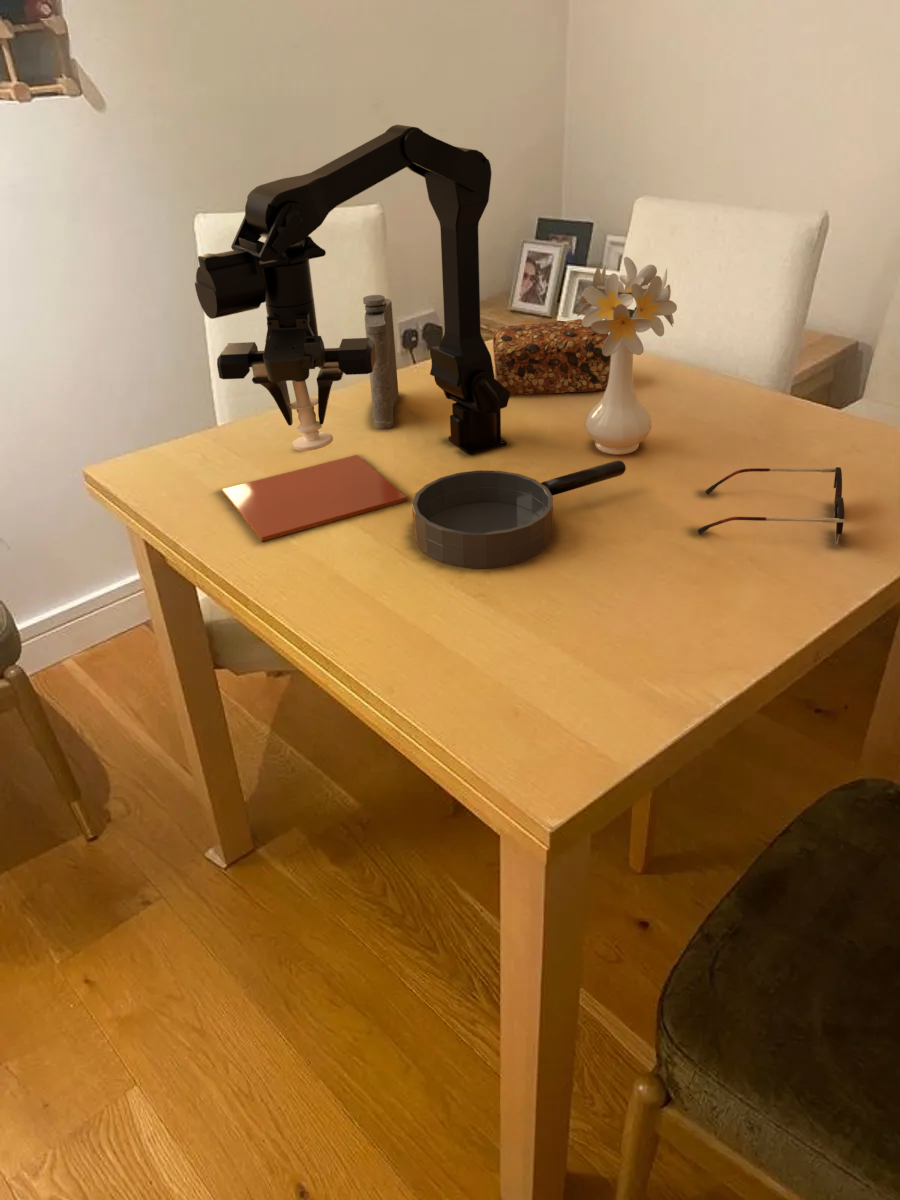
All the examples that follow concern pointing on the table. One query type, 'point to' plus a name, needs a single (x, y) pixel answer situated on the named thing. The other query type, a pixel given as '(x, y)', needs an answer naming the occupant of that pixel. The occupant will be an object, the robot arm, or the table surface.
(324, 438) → the candle
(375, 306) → the flask
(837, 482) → the sunglasses
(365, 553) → the table surface
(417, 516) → the pan
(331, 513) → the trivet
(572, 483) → the pan handle
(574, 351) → the bread
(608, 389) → the flower vase
